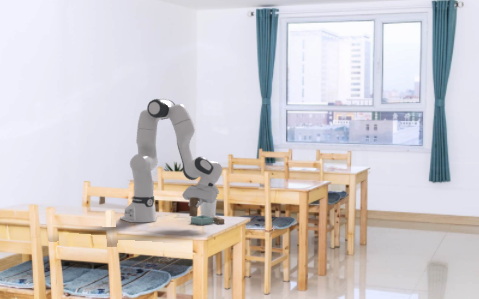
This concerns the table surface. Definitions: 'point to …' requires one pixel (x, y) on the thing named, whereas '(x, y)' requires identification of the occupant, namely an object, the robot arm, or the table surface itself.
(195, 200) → the stick
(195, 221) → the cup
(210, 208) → the white tapered container
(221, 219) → the wick
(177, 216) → the table surface
